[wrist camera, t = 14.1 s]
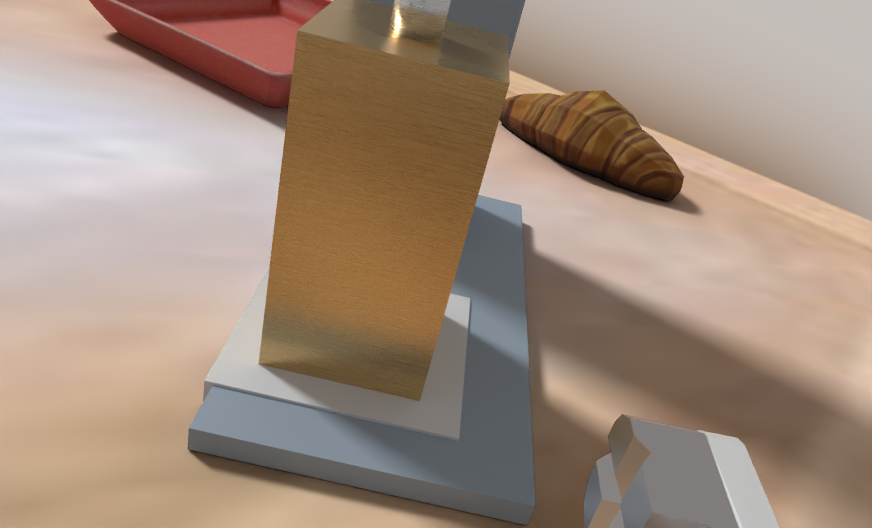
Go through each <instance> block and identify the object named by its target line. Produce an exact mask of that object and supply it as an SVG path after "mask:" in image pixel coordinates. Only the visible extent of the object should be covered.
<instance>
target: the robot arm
mask: <svg viewBox="0 0 872 528" xmlns="http://www.w3.org/2000/svg"><path fill="white" fill-rule="evenodd" d="M608 439H609V445H610V451H611V453H609V454H607V455H605V456H604V457H602V458H600V459H598V460H596V462H595V465H594V467H593V469H592V472H591V474H590V476H589V479H588V483H587V488H586V493H585V498H584V523H585V528H780V527H779V524H778V522H777V519H776V517H775V515H774V512H773V510H772V508H771V505H770V503H769V501H768V498H767V496H766V494H765V491H764V489H763V487H762V484H761V482H760V479H759V477H758V475H757V472H756V470H755V468H754V465H753V463H752V461H751V458H750V456H749V454H748V451H747V449H746V447H745V445H744V444H743V443H742V442H741V441H740V440H739V439H738V438H735V437H731V436H726V435H721V434H716V433H711V432H706V431H701V430H698V431H695V430H691V429H687V428H682V427H678V426H673V425H669V424H664V423H660V422H655V421H651V420H646V419H642V418H637V417H633V416H628V415H624V414H622V415H621V416H620V417H619V418H618V419H617V420H616V421H615V423H614V425H613V427H612V429H611V431H610V433H609V435H608Z"/></svg>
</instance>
